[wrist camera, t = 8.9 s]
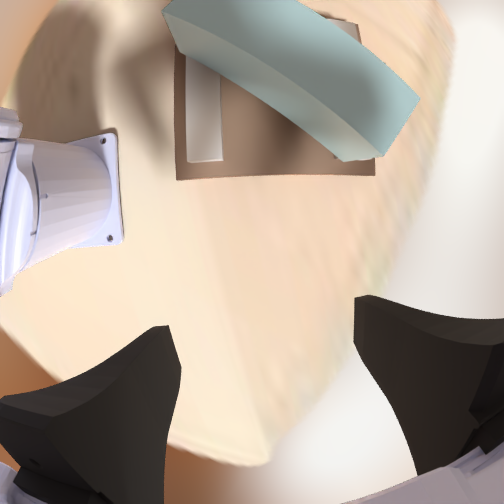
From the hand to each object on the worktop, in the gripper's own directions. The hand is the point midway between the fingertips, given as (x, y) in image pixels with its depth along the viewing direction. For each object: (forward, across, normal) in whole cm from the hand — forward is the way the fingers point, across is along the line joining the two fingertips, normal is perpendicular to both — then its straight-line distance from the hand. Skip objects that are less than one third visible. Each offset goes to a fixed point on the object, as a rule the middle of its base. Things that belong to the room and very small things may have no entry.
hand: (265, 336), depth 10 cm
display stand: (+10, -3, -12) cm, 16 cm away
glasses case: (+7, -3, -12) cm, 14 cm away
